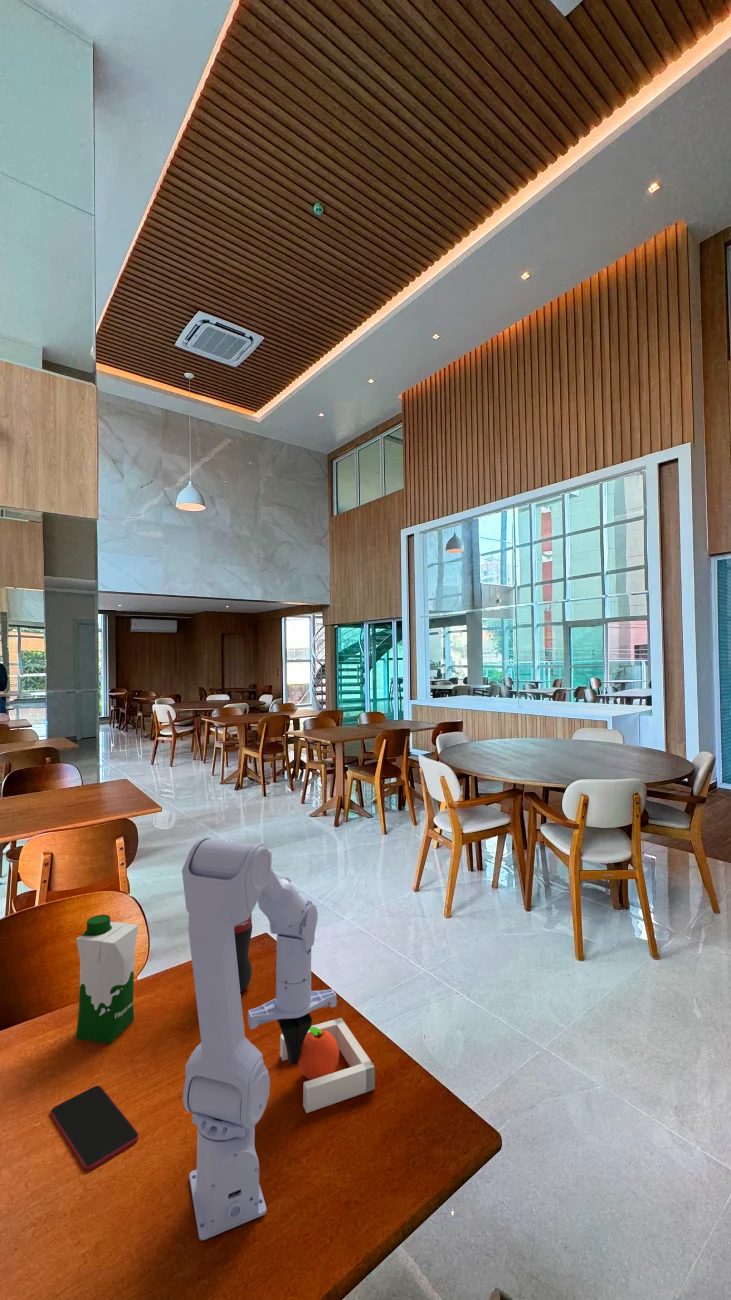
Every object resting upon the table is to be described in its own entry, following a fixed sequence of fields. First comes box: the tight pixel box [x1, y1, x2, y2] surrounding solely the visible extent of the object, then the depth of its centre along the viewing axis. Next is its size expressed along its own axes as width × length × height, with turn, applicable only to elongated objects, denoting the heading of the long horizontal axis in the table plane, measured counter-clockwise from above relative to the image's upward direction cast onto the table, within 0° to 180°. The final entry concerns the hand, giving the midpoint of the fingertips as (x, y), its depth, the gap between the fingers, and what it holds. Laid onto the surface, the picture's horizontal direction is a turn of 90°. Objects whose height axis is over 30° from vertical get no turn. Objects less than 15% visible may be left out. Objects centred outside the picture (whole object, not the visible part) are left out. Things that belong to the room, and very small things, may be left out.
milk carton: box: [75, 914, 139, 1045], centre depth 103 cm, size 9×9×20 cm
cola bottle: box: [234, 912, 253, 993], centre depth 117 cm, size 8×8×30 cm
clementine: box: [297, 1027, 340, 1081], centre depth 91 cm, size 8×7×7 cm
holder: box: [279, 1017, 376, 1114], centre depth 92 cm, size 14×12×4 cm
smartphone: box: [49, 1085, 140, 1172], centre depth 80 cm, size 7×1×15 cm
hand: (292, 1060), depth 89 cm, fingers closed
